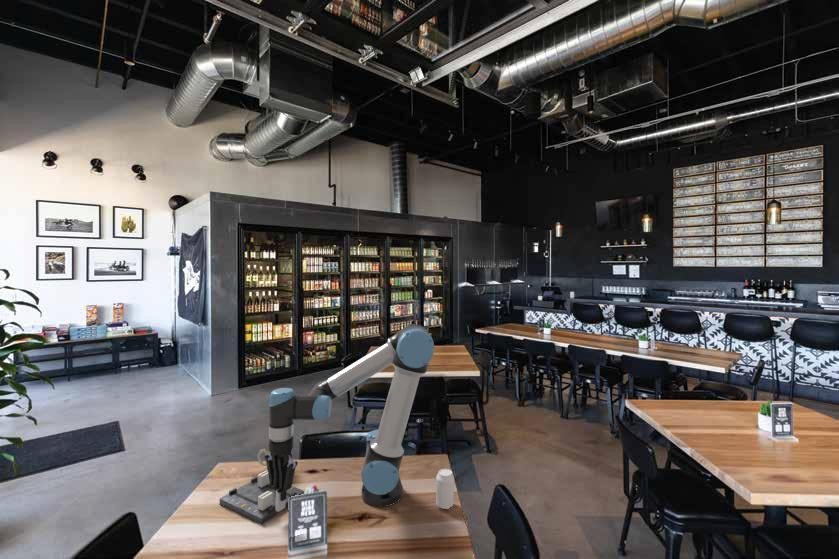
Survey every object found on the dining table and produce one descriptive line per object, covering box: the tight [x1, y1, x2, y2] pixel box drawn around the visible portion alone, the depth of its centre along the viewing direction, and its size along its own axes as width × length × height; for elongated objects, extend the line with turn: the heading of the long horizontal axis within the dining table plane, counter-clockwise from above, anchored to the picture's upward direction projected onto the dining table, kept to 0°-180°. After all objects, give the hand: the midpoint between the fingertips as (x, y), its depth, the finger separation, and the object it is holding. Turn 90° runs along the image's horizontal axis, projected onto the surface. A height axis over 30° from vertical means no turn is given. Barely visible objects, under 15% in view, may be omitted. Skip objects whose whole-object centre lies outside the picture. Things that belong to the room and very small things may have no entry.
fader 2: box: [258, 491, 273, 511], centre depth 127 cm, size 2×4×4 cm, turn 151°
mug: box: [256, 444, 270, 470], centre depth 154 cm, size 8×13×10 cm, turn 78°
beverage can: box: [435, 468, 455, 508], centre depth 131 cm, size 6×6×12 cm
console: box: [219, 475, 305, 526], centre depth 134 cm, size 22×18×3 cm
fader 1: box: [257, 469, 270, 487], centre depth 140 cm, size 2×4×4 cm, turn 151°
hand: (280, 508), depth 123 cm, fingers closed
